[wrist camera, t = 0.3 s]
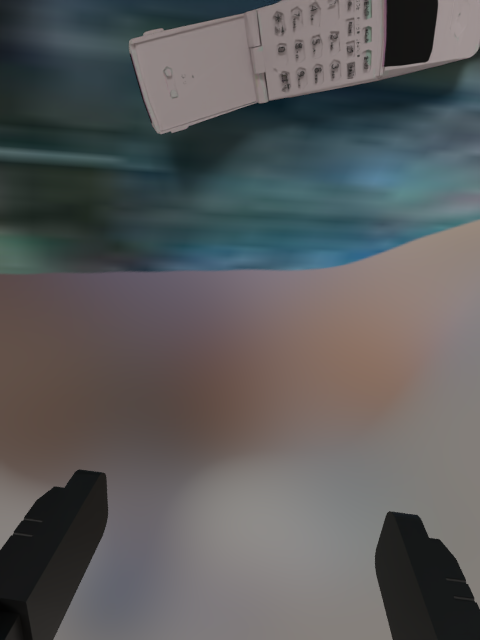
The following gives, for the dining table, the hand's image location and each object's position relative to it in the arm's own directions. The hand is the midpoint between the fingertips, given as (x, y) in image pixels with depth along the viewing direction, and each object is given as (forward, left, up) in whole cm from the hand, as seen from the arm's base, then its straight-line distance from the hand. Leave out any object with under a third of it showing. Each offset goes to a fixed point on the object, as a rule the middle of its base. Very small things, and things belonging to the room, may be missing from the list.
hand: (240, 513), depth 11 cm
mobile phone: (-5, +10, -30) cm, 32 cm away
